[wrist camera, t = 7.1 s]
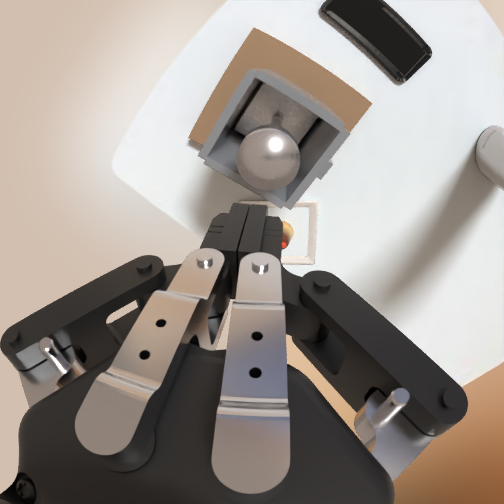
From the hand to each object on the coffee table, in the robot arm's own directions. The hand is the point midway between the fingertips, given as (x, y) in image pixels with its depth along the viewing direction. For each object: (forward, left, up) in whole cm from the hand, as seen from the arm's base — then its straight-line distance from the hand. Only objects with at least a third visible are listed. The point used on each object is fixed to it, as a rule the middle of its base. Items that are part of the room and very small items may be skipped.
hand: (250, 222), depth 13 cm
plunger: (0, 0, -25) cm, 25 cm away
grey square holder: (0, 0, -29) cm, 29 cm away
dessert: (-11, +16, -30) cm, 35 cm away
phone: (-4, -19, -30) cm, 36 cm away
